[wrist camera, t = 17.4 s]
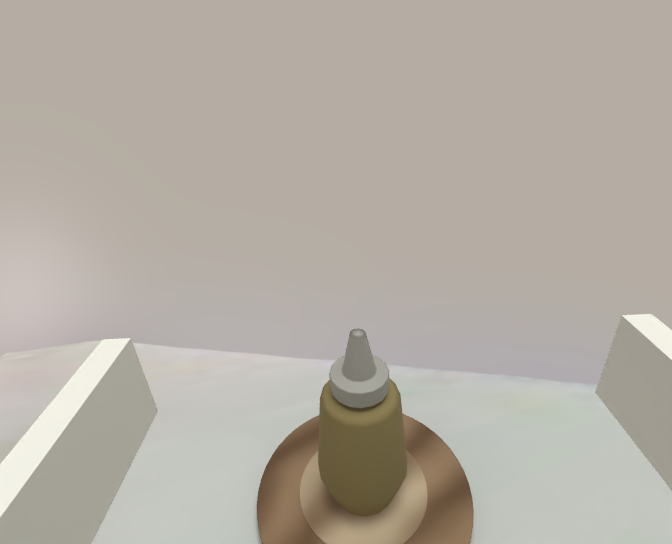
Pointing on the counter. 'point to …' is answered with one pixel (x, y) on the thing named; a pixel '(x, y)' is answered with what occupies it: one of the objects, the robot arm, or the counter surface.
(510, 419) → the counter surface
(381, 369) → the squeeze bottle
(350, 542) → the walnut board
